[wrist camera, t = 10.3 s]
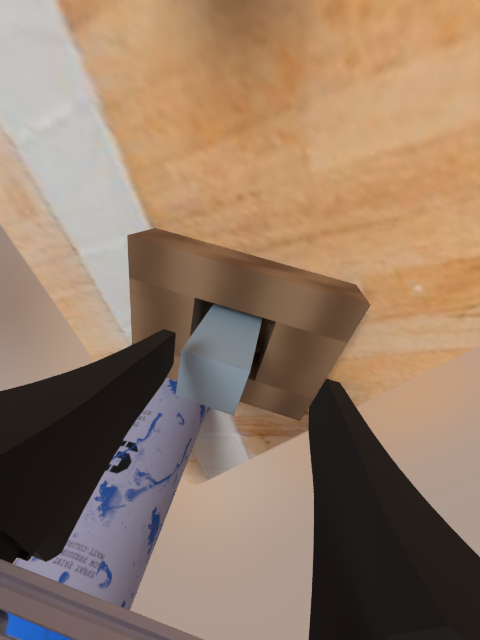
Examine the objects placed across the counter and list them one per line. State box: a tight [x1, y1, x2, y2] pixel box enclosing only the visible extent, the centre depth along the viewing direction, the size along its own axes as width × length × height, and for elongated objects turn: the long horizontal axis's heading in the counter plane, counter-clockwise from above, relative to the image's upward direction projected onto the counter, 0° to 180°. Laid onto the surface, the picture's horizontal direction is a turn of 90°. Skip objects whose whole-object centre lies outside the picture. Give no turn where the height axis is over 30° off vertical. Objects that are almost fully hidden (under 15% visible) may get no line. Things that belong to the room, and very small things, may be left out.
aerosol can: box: [6, 378, 210, 640], centre depth 18 cm, size 8×8×20 cm
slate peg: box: [176, 303, 262, 415], centre depth 17 cm, size 4×4×8 cm
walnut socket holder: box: [127, 228, 370, 421], centre depth 19 cm, size 16×12×4 cm
